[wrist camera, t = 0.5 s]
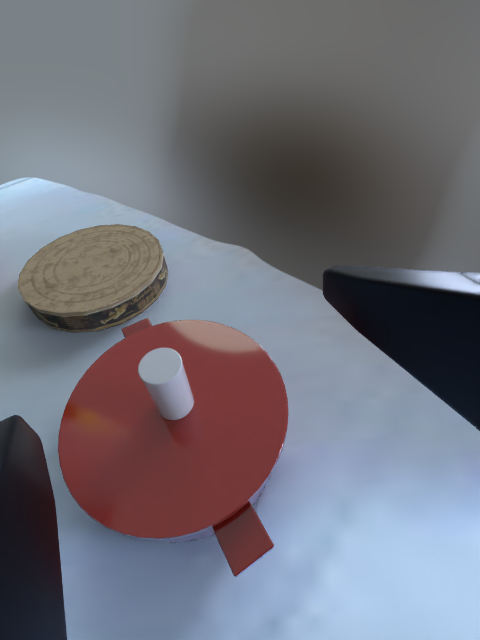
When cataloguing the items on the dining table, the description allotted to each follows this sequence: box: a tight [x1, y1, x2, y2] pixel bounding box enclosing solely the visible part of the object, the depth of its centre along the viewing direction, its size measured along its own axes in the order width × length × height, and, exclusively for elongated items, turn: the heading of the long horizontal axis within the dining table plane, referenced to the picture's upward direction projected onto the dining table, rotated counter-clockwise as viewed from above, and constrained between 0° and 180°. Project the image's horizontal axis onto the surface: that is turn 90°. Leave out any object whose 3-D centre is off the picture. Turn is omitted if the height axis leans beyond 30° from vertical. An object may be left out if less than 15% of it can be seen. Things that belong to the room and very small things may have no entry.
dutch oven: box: [122, 318, 274, 577], centre depth 23 cm, size 14×19×6 cm
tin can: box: [18, 224, 168, 332], centre depth 37 cm, size 16×16×3 cm
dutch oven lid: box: [58, 320, 288, 540], centre depth 19 cm, size 15×15×6 cm
